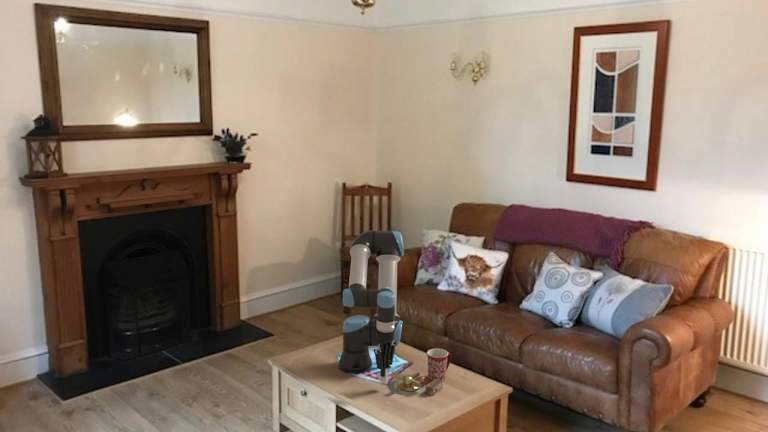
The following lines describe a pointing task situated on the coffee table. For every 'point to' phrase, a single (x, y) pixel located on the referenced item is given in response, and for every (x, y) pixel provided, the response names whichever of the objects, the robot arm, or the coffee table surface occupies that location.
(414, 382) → the cam capstan
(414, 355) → the coffee table surface
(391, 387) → the stand plate
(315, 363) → the coffee table surface
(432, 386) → the brown angular block
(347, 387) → the coffee table surface
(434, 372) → the mug
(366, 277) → the robot arm
